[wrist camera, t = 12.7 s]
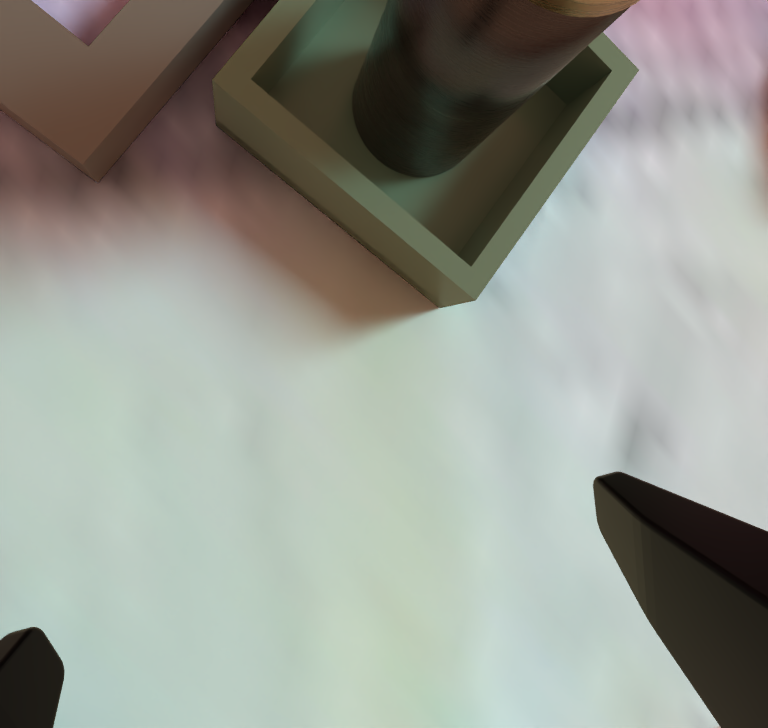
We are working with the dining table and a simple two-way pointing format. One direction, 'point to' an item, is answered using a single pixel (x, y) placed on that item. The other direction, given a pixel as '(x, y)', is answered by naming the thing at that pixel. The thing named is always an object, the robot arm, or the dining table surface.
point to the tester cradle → (102, 72)
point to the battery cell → (462, 72)
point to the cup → (385, 186)
